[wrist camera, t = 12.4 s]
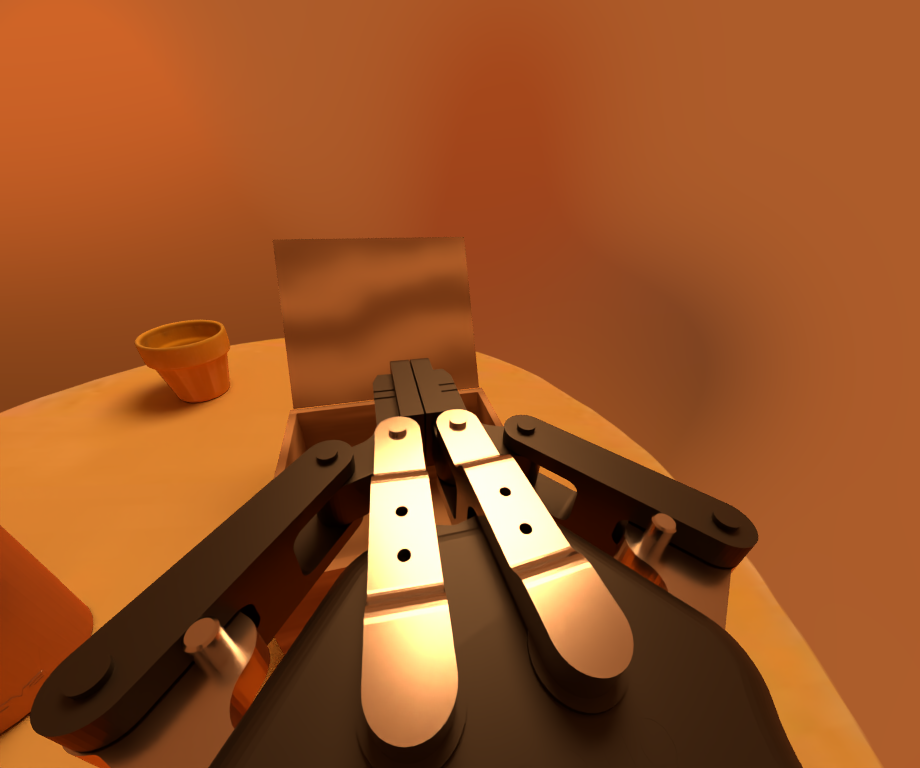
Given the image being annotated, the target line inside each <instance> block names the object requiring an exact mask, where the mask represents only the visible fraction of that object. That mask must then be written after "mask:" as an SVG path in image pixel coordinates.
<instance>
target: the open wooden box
mask: <svg viewBox="0 0 920 768" xmlns="http://www.w3.org/2000/svg"><path fill="white" fill-rule="evenodd" d="M458 392H459V394H460V396H461V398H462V401H463V403H464V405H465V407H466V409H467V411H469V412H471V413H473V414H474V415H475V416H476V417H477V418H478V420H479V421H480V423H482V424H486V425H492V426H503V425H502V423H501V422H500V420H499V418H498V416H497V414H496V413H495V411H494V409H493V407H492V406H491V404H490V402H489V400H488V398H487V397H486V395H485V393H484V391H483V389H482V388H476V389H468V390H459V391H458ZM376 427H377V423H376V413H375V403H374V400H373V401H365V402H356V403H348V404H339V405H331V406H322V407H313V408H305V409H296V410H290V414H289V418H288V422H287V426H286V430H285V435H284V439H283V443H282V447H281V451H280V455H279V460H278V464H277V468H276V472H275V476H274V478H275V477H277V476H278V475H279V474H280V473H281V472H282V471H284V470H285V469H286V468H287V467H288V466H289V465H291V464H292V463H293V462H294V461H295V460H296V459H298V458H299V457H300V456H301V455H302V454H303V453H304V452H306V451H307V450H308V449H309V448H311V447H312V446H314V445H315V444H318V443H320V442H323V441H327V440H340V441H344V442H346V443H348V444H349V445H350V446H351V447H353V446H356V445H358V444H361V443H363V442H365V441H366V440H368V439H369V438H370V437H371V436H372V435H373V434H374V433H375V430H376ZM425 469H426V470H427V472H428V478H429V485H430V492H431V499H432V506H433V513H434V520H435V525H451V522H450V519H449V517H448V514H447V511H446V508H445V506H444V503H443V500H442V497H441V495H440V492H439V489H438V486H437V483H436V468H435V465H434V466H428V467H427V465H426V460H425ZM369 524H370V513H369V514H367V515H365V516H364V517H363V521H362V523H361V525H360V526H359V527H358V529H357V530H356V531H355V533H354V534H353V535H352V536H351V538H350V539H349V540H348V542H347V543H346V544H345V546H344V547H343V548H342V549H341V551H340V552H339V553H338V555H337V556H336V557H335V558H334V560H333V561H332V562H331V564H330V565H329V566H328V568H327V569H326V570H325V571H324V573H323V574H322V575H321V577H320V578H319V579H318V580H317V582H316V583H315V584H314V586H313V587H312V588H311V590H310V591H309V592H308V593H307V595H306V596H305V597H304V599H303V600H302V601H301V603H300V604H299V605H298V606H297V608H296V609H295V610H294V612H293V613H292V614H291V615H290V617H289V618H288V619H287V621H286V622H285V623H284V625H283V626H282V627H281V628H280V630H279V631H278V632H277V634H276V635H275V636H274V637H275V639H276V641H277V643H278V644H279V646H280V648H281V650H282V652H283V653H284V655H285V654H286V653H287V651H288V650H289V648H290V647H291V645H292V644H293V642H294V641H295V640H296V638H297V637H298V635H299V634H300V632H301V631H302V629H303V628H304V626H305V625H306V623H307V622H308V621H309V619H310V618H311V616H312V615H313V613H314V612H315V610H316V609H317V607H318V606H319V604H320V603H321V601H322V600H323V599H324V597H325V596H326V594H327V593H328V591H329V590H330V588H331V587H332V585H333V584H334V582H335V581H336V580H337V578H338V577H339V575H340V574H341V573H342V572H343V571H344V570H345V568H346V567H347V566H348V565H349V564H350V563H351V562H352V561H354V560H355V559H356V558H357V557H358V556H360V555H361V554H362V553H364V552H365V551H367V550H368V549H369Z"/></svg>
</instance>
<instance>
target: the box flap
mask: <svg viewBox="0 0 920 768" xmlns="http://www.w3.org/2000/svg"><path fill="white" fill-rule="evenodd" d="M273 245H274V254H275V261H276V270H277V278H278V286H279V294H280V302H281V310H282V318H283V326H284V334H285V343H286V351H287V359H288V367H289V375H290V383H291V391H292V399H293V408H294V409H297V408H306V407H314V406H323V405H331V404H340V403H349V402H357V401H366V400H374V393H373V382H374V380H375V378H376V377H377V375H384V374H390V361H398V360H409V361H410V359H420V358H429V360H430V363H431V366H432V368H433V370H435V369H444V370H445V371H446V372H448V373H449V374H450V375H451V376H452V379H453V381H454V384H455V385H456V387H457V390H461V389H469V388H478V387H479V384H478V374H477V364H476V354H475V344H474V334H473V325H472V314H471V304H470V294H469V284H468V273H467V264H466V253H465V244H464V237H438V238H437V237H435V238H371V239H370V238H368V239H301V240H300V239H298V240H296V239H295V240H273Z"/></svg>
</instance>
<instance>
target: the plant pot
mask: <svg viewBox="0 0 920 768" xmlns="http://www.w3.org/2000/svg"><path fill="white" fill-rule="evenodd" d="M135 346H136V348H137V349H138V352H139V354H140V356H141V357H142V359H143V361H144V363H145V364H146V365H147V366H148V367H149V368H152V369H155V370H156V371H157V372H158V373H159V374H160V376H161V377H162V378H163V379H164V380H165V382H166V383H167V384H168V385H169V386H170V388H171V389H172V390H173V391H174V392H175V393H176V395H177V396H178V397H179V398H180V399H181V400H183V401H185V402H192V403H195V402H203V401H208V400H211V399H214V398H216V397H219V396H221V395H222V394H224V393H225V392H226V391H227V390H228V389H229V387H230V381H229V370H228V358H227V352H228V351H229V349H230V343H229V339H228V336H227V333H226V330H225V327H224V326H223V325H222V324H221V323H219V322H216V321H211V320H189V321H182V322H175V323H170V324H167V325H162V326H159V327H156V328H154V329H151V330H149V331H146V332H144V333H143V334H141V335H140V336H139V337H137V339H136V340H135Z"/></svg>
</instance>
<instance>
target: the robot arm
mask: <svg viewBox="0 0 920 768" xmlns="http://www.w3.org/2000/svg"><path fill="white" fill-rule="evenodd" d="M373 393H374V403H375V413H376V423H377V427H376V430H375V433H374V434H373V435H372V436H371V437H370V438H369V439H368V440H366V441H365V442H363V443H361V444H358V445H356V446H353V447H351V446H350V445H349V444H348V443H346V442H344V441H340V440H327V441H323V442H320V443H318V444H315V445H314V446H312V447H311V448H309V449H308V450H307V451H306V452H304V453H303V454H302V455H301V456H300V457H299V458H298V459H296V460H295V461H294V462H293V463H292V464H291V465H289V466H288V467H287V468H286V469H285V470H284V471H282V472H281V473H280V474H279V475H278V476H277V477H275V478H274V479H273V480H272V481H271V482H270V483H268V484H267V485H266V486H265V487H264V488H263V489H262V490H260V491H259V492H258V493H257V494H256V495H255V496H253V497H252V498H251V499H250V500H249V501H248V502H246V503H245V504H244V505H243V506H242V507H241V508H239V509H238V510H237V511H236V512H235V513H234V514H233V515H231V516H230V517H229V518H228V519H227V520H226V521H224V522H223V523H222V524H221V525H220V526H219V527H217V528H216V529H215V530H214V531H213V532H212V533H210V534H209V535H208V536H207V537H206V538H205V539H203V540H202V541H201V542H200V543H199V544H198V545H197V546H195V547H194V548H193V549H192V550H191V551H190V552H188V553H187V554H186V555H185V556H184V557H183V558H181V559H180V560H179V561H178V562H177V563H176V564H174V565H173V566H172V567H171V568H170V569H169V570H168V571H166V572H165V573H164V574H163V575H162V576H161V577H159V578H158V579H157V580H156V581H155V582H154V583H152V584H151V585H150V586H149V587H148V588H147V589H145V590H144V591H143V592H142V593H141V594H140V595H138V596H137V597H136V598H135V599H134V600H133V601H132V602H130V603H129V604H128V605H127V606H126V607H125V608H123V609H122V610H121V611H120V612H119V613H118V614H116V615H115V616H114V617H113V618H112V619H111V620H109V621H108V622H107V623H106V624H105V625H104V626H103V627H101V628H100V629H99V630H98V631H97V632H96V633H94V634H93V635H92V636H91V633H92V629H93V616H92V613H91V611H90V609H89V608H88V607H87V606H86V605H85V604H84V603H83V602H82V601H81V600H80V599H79V598H78V597H76V596H75V595H74V594H73V593H72V592H71V591H70V590H69V589H68V588H67V587H66V586H65V585H64V584H63V583H62V582H61V581H60V580H59V579H58V578H57V577H56V576H54V575H53V574H52V573H51V572H50V571H49V570H48V569H47V568H46V567H45V566H44V565H43V564H42V563H40V562H39V561H38V560H37V559H36V558H35V557H34V556H33V555H32V554H31V553H30V552H29V551H28V550H26V549H25V548H24V547H23V546H22V545H21V544H20V543H19V542H18V541H17V540H16V539H15V538H14V537H12V536H11V535H10V534H9V533H8V532H7V531H6V530H5V529H4V528H3V527H2V526H1V525H0V733H2V732H3V731H5V730H6V729H8V728H9V727H11V726H12V725H14V724H15V723H17V722H18V721H20V720H21V719H22V718H23V717H24V716H26V715H27V714H28V713H29V712H31V713H30V722H31V725H32V728H33V730H34V731H35V732H36V733H38V734H40V735H42V736H44V737H46V738H48V739H50V740H52V741H54V742H56V743H58V744H60V745H62V746H63V748H64V750H65V751H66V752H67V753H69V754H71V755H73V756H75V757H78V758H80V759H82V760H84V761H86V762H88V763H90V764H92V765H94V766H97V767H99V768H803V767H802V765H801V763H800V762H799V760H798V758H797V756H796V754H795V752H794V750H793V748H792V746H791V744H790V742H789V740H788V738H787V736H786V733H785V731H784V729H783V726H782V724H781V722H780V719H779V716H778V714H777V711H776V708H775V705H774V703H773V700H772V697H771V695H770V692H769V690H768V687H767V685H766V683H765V681H764V679H763V677H762V675H761V674H760V672H759V671H758V669H757V667H756V666H755V664H754V663H753V661H752V660H751V659H750V657H749V656H748V655H747V653H746V652H745V650H744V649H743V648H742V647H741V646H740V645H739V644H738V643H737V641H736V640H735V639H734V638H733V637H732V636H731V635H730V634H729V633H728V632H727V631H725V625H726V615H727V605H728V595H729V586H730V576H731V573H732V571H733V570H734V569H735V568H736V567H737V565H738V564H739V563H740V562H741V561H742V560H743V558H744V557H745V556H746V555H747V554H748V552H749V551H750V550H751V549H752V548H753V546H754V545H755V544H756V543H757V541H758V533H757V530H756V528H755V526H754V525H753V523H752V522H751V521H750V520H749V519H748V518H747V517H746V516H745V515H744V514H743V513H742V512H740V511H739V510H738V509H736V508H734V507H733V506H731V505H729V504H727V503H724V502H722V501H720V500H718V499H716V498H713V497H711V496H709V495H707V494H704V493H702V492H700V491H698V490H696V489H693V488H691V487H689V486H687V485H684V484H682V483H680V482H678V481H675V480H673V479H671V478H669V477H666V476H664V475H662V474H660V473H658V472H655V471H653V470H651V469H649V468H646V467H644V466H642V465H640V464H637V463H635V462H633V461H631V460H628V459H626V458H624V457H622V456H620V455H617V454H615V453H613V452H611V451H608V450H606V449H604V448H602V447H599V446H597V445H595V444H593V443H591V442H588V441H586V440H584V439H582V438H579V437H577V436H575V435H573V434H570V433H568V432H566V431H564V430H561V429H559V428H557V427H555V426H553V425H550V424H548V423H546V422H544V421H541V420H539V419H537V418H534V417H532V416H527V415H516V416H512V417H510V418H509V419H507V420H506V422H505V424H504V427H503V426H492V425H486V424H482V423H480V421H479V420H478V418H477V417H476V416H475V415H474V414H473V413H471V412H469V411H467V409H466V407H465V405H464V403H463V401H462V398H461V396H460V394H459V392H458V390H457V387H456V385H455V384H454V381H453V379H452V376H451V375H450V374H449V373H448V372H446V371H445V370H444V369H435V370H433V368H432V366H431V363H430V360H429V358H420V359H410V361H409V360H398V361H390V374H384V375H377V377H376V378H375V380H374V382H373ZM425 460H426V465H427V467H428V466H434V465H435V468H436V483H437V486H438V489H439V492H440V495H441V497H442V500H443V503H444V506H445V508H446V511H447V514H448V517H449V519H450V522H451V525H435V520H434V513H433V506H432V499H431V492H430V485H429V478H428V472H427V470H426V469H425ZM540 466H541V467H543V468H545V469H547V470H549V471H551V472H553V473H555V474H557V475H559V476H561V477H563V478H565V479H567V480H568V481H570V482H571V483H572V484H573V485H574V486H575V487H576V489H577V492H575V491H573V490H571V489H569V488H567V487H565V486H563V485H562V484H560V483H558V482H556V481H554V480H552V479H550V478H548V477H546V476H545V475H543V474H541V473H539V468H540ZM369 513H370V524H369V549H368V550H367V551H365V552H364V553H362V554H361V555H360V556H358V557H357V558H356V559H355V560H354V561H352V562H351V563H350V564H349V565H348V566H347V567H346V568H345V570H344V571H343V572H342V573H341V574H340V575H339V577H338V578H337V580H336V581H335V582H334V584H333V585H332V587H331V588H330V590H329V591H328V593H327V594H326V596H325V597H324V599H323V600H322V601H321V603H320V604H319V606H318V607H317V609H316V610H315V612H314V613H313V615H312V616H311V618H310V619H309V621H308V622H307V623H306V625H305V626H304V628H303V629H302V631H301V632H300V634H299V635H298V637H297V638H296V640H295V641H294V642H293V644H292V645H291V647H290V648H289V650H288V651H287V653H286V654H285V656H284V657H283V659H282V660H281V662H280V663H279V664H278V666H277V667H276V669H275V670H274V672H273V673H272V675H271V676H270V678H269V679H268V681H267V682H266V684H265V685H264V686H263V688H262V689H261V691H260V692H259V694H258V695H257V697H256V698H255V696H256V694H257V692H258V690H259V689H260V687H261V685H262V684H263V682H264V680H265V677H266V675H267V672H268V669H269V664H270V653H269V649H268V646H267V645H268V644H269V643H270V641H271V640H272V639H273V637H274V636H275V635H276V634H277V632H278V631H279V630H280V628H281V627H282V626H283V625H284V623H285V622H286V621H287V619H288V618H289V617H290V615H291V614H292V613H293V612H294V610H295V609H296V608H297V606H298V605H299V604H300V603H301V601H302V600H303V599H304V597H305V596H306V595H307V593H308V592H309V591H310V590H311V588H312V587H313V586H314V584H315V583H316V582H317V580H318V579H319V578H320V577H321V575H322V574H323V573H324V571H325V570H326V569H327V568H328V566H329V565H330V564H331V562H332V561H333V560H334V558H335V557H336V556H337V555H338V553H339V552H340V551H341V549H342V548H343V547H344V546H345V544H346V543H347V542H348V540H349V539H350V538H351V536H352V535H353V534H354V533H355V531H356V530H357V529H358V527H359V526H360V525H361V523H362V521H363V517H364V516H365V515H367V514H369ZM254 698H255V700H254ZM253 700H254V701H253ZM252 702H253V703H252Z"/></svg>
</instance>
